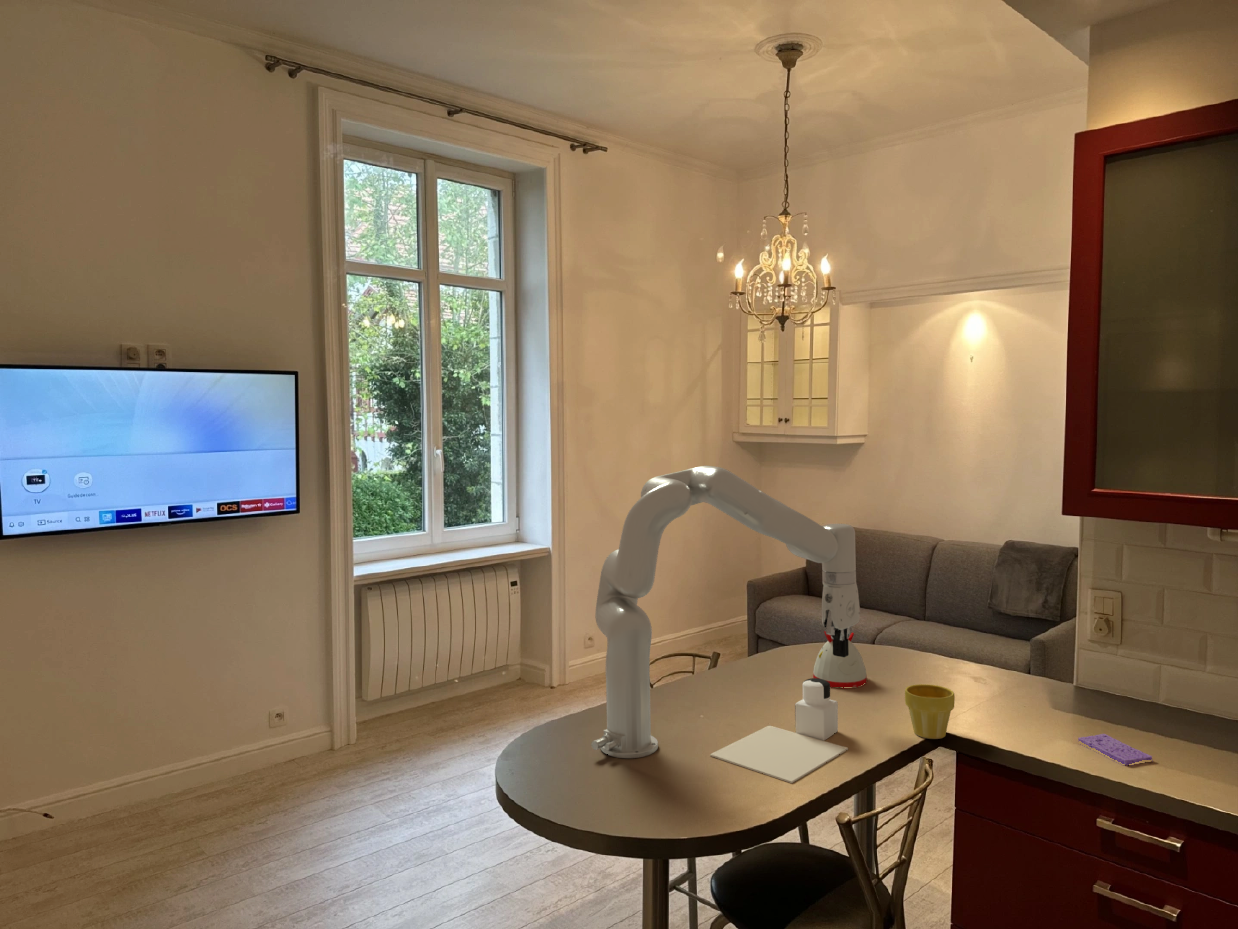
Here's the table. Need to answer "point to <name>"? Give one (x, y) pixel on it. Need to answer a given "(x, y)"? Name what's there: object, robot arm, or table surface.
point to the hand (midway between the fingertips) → (840, 655)
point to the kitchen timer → (840, 666)
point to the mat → (779, 753)
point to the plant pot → (929, 709)
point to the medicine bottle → (816, 710)
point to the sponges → (1115, 749)
